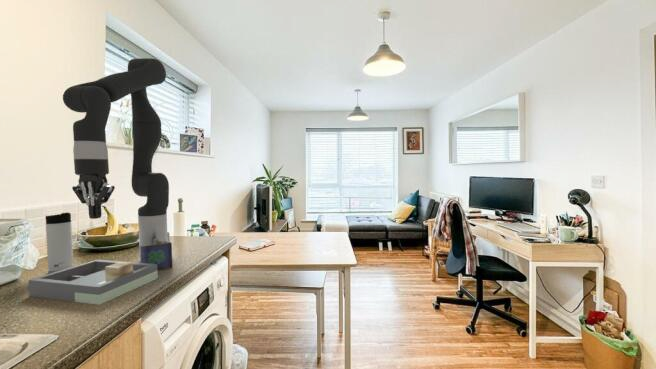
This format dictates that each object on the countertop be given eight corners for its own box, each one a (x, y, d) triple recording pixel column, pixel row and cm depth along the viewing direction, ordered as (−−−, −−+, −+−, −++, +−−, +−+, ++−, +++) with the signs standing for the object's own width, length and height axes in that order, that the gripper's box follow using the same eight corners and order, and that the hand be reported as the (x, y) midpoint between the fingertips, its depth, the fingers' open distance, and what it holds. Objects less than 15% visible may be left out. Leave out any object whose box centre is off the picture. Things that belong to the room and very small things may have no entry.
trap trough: (97, 272, 94) (96, 259, 94) (157, 278, 88) (157, 264, 88) (29, 296, 76) (28, 279, 76) (99, 304, 71) (98, 287, 71)
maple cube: (121, 276, 83) (120, 261, 83) (133, 278, 82) (132, 262, 82) (105, 282, 79) (105, 266, 79) (118, 284, 78) (118, 267, 78)
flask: (140, 273, 93) (139, 241, 93) (141, 270, 96) (140, 239, 95) (172, 268, 98) (171, 237, 98) (172, 265, 100) (171, 236, 100)
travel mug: (59, 275, 92) (55, 214, 91) (43, 273, 94) (39, 213, 93) (79, 268, 98) (76, 211, 98) (64, 267, 100) (61, 211, 99)
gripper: (122, 157, 83) (126, 216, 84) (87, 158, 86) (90, 215, 87) (96, 157, 75) (100, 221, 76) (58, 158, 78) (63, 220, 79)
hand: (95, 218), depth 81 cm, fingers closed
